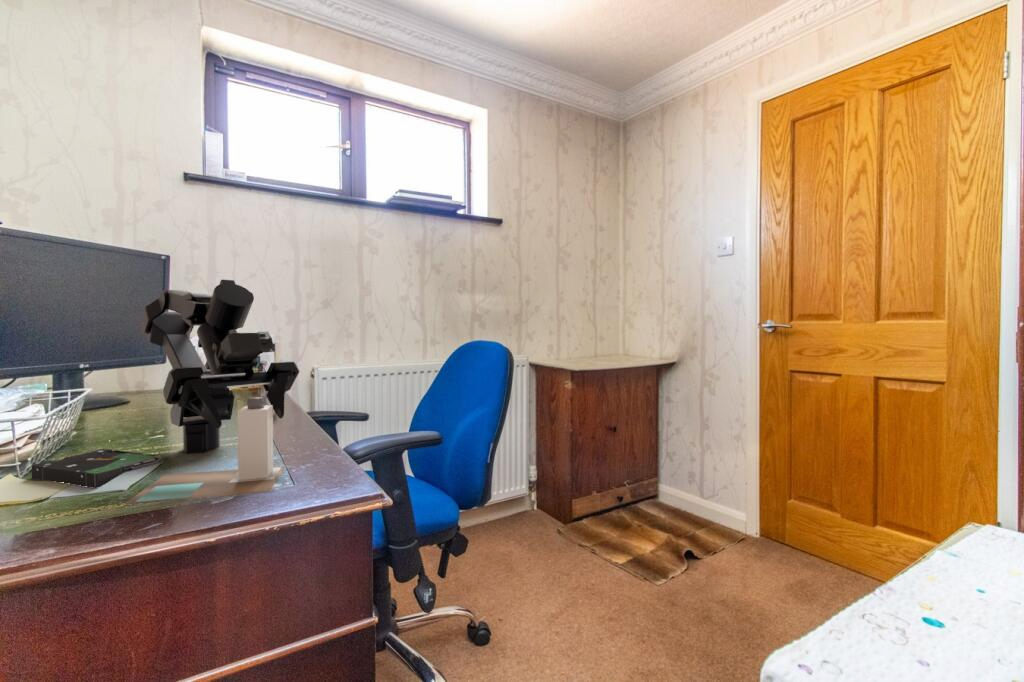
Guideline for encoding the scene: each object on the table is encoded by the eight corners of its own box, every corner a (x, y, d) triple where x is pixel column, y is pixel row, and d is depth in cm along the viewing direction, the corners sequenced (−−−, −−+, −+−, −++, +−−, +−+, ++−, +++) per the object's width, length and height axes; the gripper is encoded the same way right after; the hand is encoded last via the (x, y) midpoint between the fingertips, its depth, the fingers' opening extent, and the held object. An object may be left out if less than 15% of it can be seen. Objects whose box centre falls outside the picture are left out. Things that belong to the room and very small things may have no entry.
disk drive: (29, 482, 72) (96, 491, 68) (28, 465, 72) (95, 472, 68) (103, 463, 82) (165, 470, 78) (103, 448, 82) (165, 453, 78)
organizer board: (164, 482, 71) (164, 474, 71) (285, 473, 76) (285, 465, 75) (124, 513, 59) (123, 504, 59) (269, 500, 64) (269, 491, 64)
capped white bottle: (245, 471, 72) (244, 396, 72) (273, 469, 74) (272, 395, 73) (238, 479, 69) (237, 400, 68) (267, 477, 70) (267, 399, 69)
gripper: (167, 313, 67) (195, 395, 61) (293, 316, 82) (327, 382, 75) (152, 364, 72) (177, 444, 66) (273, 358, 87) (303, 423, 80)
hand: (252, 421), depth 72 cm, fingers open, 9 cm apart
